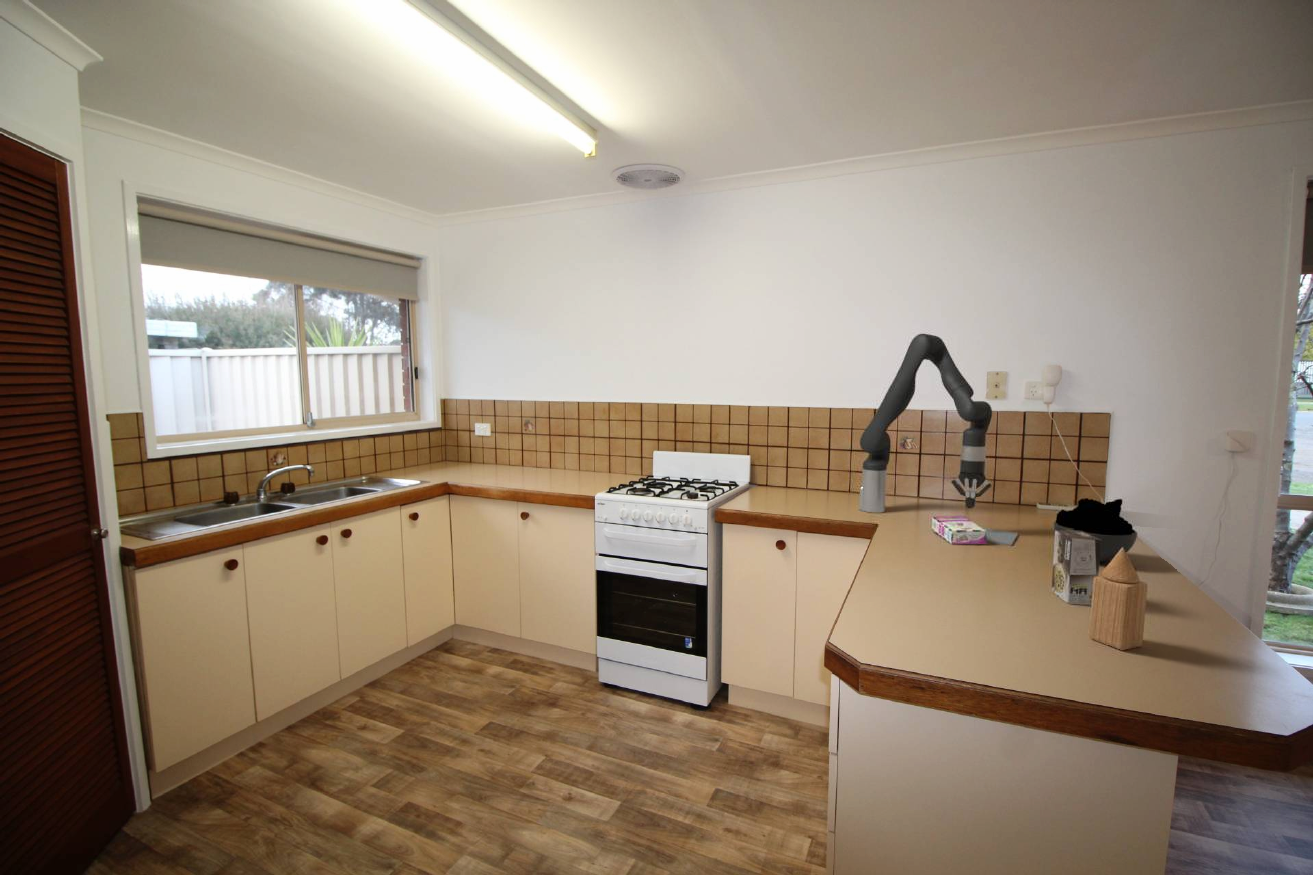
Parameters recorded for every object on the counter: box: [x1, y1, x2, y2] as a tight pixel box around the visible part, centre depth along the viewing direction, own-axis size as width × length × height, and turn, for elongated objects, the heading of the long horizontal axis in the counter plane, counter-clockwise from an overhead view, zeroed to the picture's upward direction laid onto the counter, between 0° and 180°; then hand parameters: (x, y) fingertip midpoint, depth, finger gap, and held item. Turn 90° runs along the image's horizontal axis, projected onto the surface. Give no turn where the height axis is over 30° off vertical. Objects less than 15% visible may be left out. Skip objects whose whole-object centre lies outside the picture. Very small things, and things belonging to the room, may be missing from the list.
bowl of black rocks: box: [1053, 497, 1138, 563], centre depth 176 cm, size 20×20×19 cm
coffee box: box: [1051, 530, 1101, 606], centre depth 144 cm, size 9×6×16 cm
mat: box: [982, 527, 1019, 547], centre depth 204 cm, size 16×18×1 cm
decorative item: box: [1088, 547, 1148, 651], centre depth 120 cm, size 7×7×20 cm
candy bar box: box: [931, 515, 987, 545], centre depth 200 cm, size 11×5×16 cm
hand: (970, 508), depth 206 cm, fingers closed
